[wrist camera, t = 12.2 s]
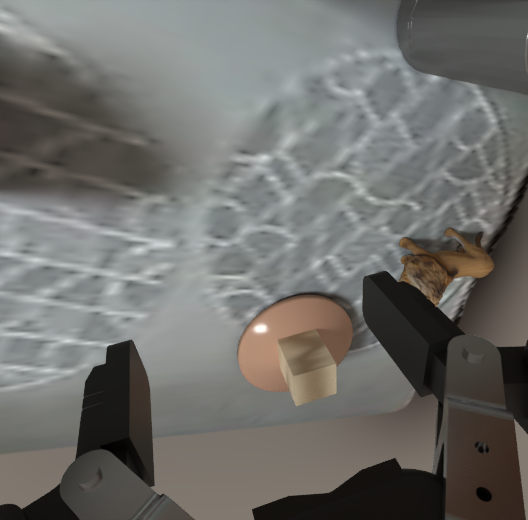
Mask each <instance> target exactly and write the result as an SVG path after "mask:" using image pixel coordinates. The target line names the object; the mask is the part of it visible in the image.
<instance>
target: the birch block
mask: <svg viewBox="0 0 528 520" xmlns="http://www.w3.org/2000/svg"><path fill="white" fill-rule="evenodd" d="M277 345H278V354H279V362H280V369H281V371H282V374H283V376H284V378H285V381H286V383H287V385H288V388H289V390H290V393H291V395H292V397H293V400H294V402H295V404H296V406H298V405H301V404H304V403H307V402H310V401H314V400H317V399H320V398H323V397H326V396H329V395H333V394H336V363H335V361H334V359H333V357H332V356H331V354H330V352H329V351H328V349H327V347H326V345H325V344H324V342H323V340H322V339H321V337H320V335H319V334H318V332H317V330H316V329H313V330H309V331H306V332H302V333H299V334H295V335H292V336H288V337H285V338H281V339H278V340H277Z"/></svg>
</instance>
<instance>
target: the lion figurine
mask: <svg viewBox="0 0 528 520" xmlns="http://www.w3.org/2000/svg"><path fill="white" fill-rule="evenodd" d="M482 235H483V232H481V233H478V234H477V235H476V238H475V241H476V246H475V245H472V244H471V243H470V242H468V241H467V240H466V239H465V238H464V237H463V236H461V235H459V234H458V233H457V232H455V231H454V230H453V229H451V228H448V229H446V230H445V233H444V236H446V237H451V238H454V239H456V240H457V241H459V242H460V243H461V244H462V246H460V247H459V248H458V249H457V252H455V251H450V250H448V251H439V252H435V253H433V254H432V253H430V252H428V251H426V250H424V249H423V248H421V247H419V246H418V245H416V244H415V243H413V242H412V241H411V240H409V239H408V238H402V239H401V240H400V242H399V245H400V247H404V248H406V249H409V250H411V252H412V253H413V254H414V255H415V257H413V256H412V255H405V256H403V257H402V258H401V262H402V264H404V270H403V273H402V274H401V278H400V279H399V282H401V281H405V282H407V283H409V284H411V285H413V286H415V287H417V288H418V289H419V290H420V291H421V292H422V293H423V294H424V295H425V296H426V297H427V299H430V300H431V301H432V302H433V303H434V304H435V307H436V306H437V305H438V304H439V301H440V299H441V298H442V297H443V295H442V294H443V293H444V292H445V289H446V287H447V286H448V285H449V283H451V282H452V281H453V279H454V278H458V277H462V276H472V277H476V278H481V277H484V276H486V275H487V274H488V273H489V272H490V271H492V270H493V268H494V263H493V261H492V259H491V258H490V256H489V255H488V254H487V253H486V252H485V251H484V250H483V248H482V247H481V243H480V240H481V238H482Z"/></svg>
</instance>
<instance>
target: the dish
mask: <svg viewBox="0 0 528 520" xmlns="http://www.w3.org/2000/svg"><path fill="white" fill-rule="evenodd" d="M313 329H316V330H317V332H318V334H319V335H320V337H321V339H322V340H323V342H324V344H325V345H326V347H327V349H328V351H329V352H330V354H331V356H332V357H333V359H334V361H335V363H336V367H337V366H338V365H339V364H340V362H341V361H342V360H343V358H344V357H345V356H346V354H347V352H348V350H349V348H350V345H351V342H352V337H353V327H352V322H351V320H350V318H349V316H348V315H347V313H346V312H345V310H344V309H343V308H342V307H341V306H340V305H339V304H338V303H337V302H335V301H334V300H332V299H329V298H327V297H323V296H318V295H299V296H294V297H290V298H287V299H284V300H281V301H279V302H277V303H275V304H273V305H271V306H269V307H268V308H266V309H265V310H263V311H262V312H261V313H260V314H258V315H257V316H256V317H255V318H254V319H253V320H252V321H251V322H250V323H249V325H248V326H247V327H246V329H245V330H244V332H243V334H242V336H241V338H240V341H239V344H238V350H237V357H238V362H239V366H240V369H241V371H242V373H243V375H244V377H245V378H246V379H247V380H248V381H249V382H250V383H251V384H253V385H254V386H256V387H258V388H260V389H263V390H267V391H274V392H284V391H290V390H289V388H288V385H287V383H286V381H285V378H284V376H283V374H282V371H281V369H280V362H279V354H278V345H277V340H278V339H281V338H285V337H288V336H292V335H295V334H299V333H302V332H306V331H309V330H313Z"/></svg>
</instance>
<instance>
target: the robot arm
mask: <svg viewBox="0 0 528 520" xmlns="http://www.w3.org/2000/svg"><path fill="white" fill-rule="evenodd" d="M397 36H398V42H399V47H400V49H401V52H402V54H403V57H404V58H405V59H406V61H407V62H408V63H409V65H411V66H412V67H413V68H414V69H416V70H418V71H420V72H423V73H427V74H431V75H436V76H441V77H446V78H450V79H454V80H459V81H464V82H468V83H473V84H478V85H483V86H488V87H492V88H497V89H502V90H507V91H511V92H516V93H521V94H526V95H528V0H402V3H401V6H400V10H399V15H398V22H397ZM362 310H363V316H364V319H365V322H366V324H367V326H368V327H369V328H370V330H371V331H372V333H373V334H374V335H375V337H376V338H377V339H378V341H379V342H380V343H381V345H382V346H383V347H384V349H385V350H386V351H387V353H388V354H389V355H390V357H391V358H392V359H393V361H394V362H395V363H396V365H397V366H398V367H399V369H400V370H401V371H402V373H403V374H404V375H405V377H406V378H407V379H408V381H409V382H410V383H411V385H412V386H413V387H414V389H415V390H416V391H417V393H418V394H419V395H420V397H424V396H426V395H430V394H434V395H435V396H436V398H437V399H438V402H437V411H436V431H435V448H434V461H433V469H432V473H430V472H426V471H422V470H416V469H401V467H400V465H399V464H398V462H397V460H396V459H395V458H393V459H391V460H388V461H385V462H382V463H380V464H377V465H374V466H372V467H368V468H366V469H363V470H361V471H359V472H358V473H357V474H355V475H354V476H353V477H351V478H350V479H349V480H347V481H346V482H344V483H343V484H342V485H340V486H339V487H338V488H336V489H335V490H333V491H332V492H330V493H324V494H311V495H298V496H288V497H285V498H282V499H279V500H277V501H274V502H271V503H268V504H265V505H263V506H260V507H257V508H254V509H252V511H253V515H254V520H526V517H525V509H524V500H523V492H522V483H521V475H520V466H519V458H518V450H517V441H516V433H515V423H514V419H515V420H516V421H517V422H518V423H519V425H520V426H521V427H522V428H523V429H524V430H525V431H526V433H527V434H528V340H527V343H526V346H524V347H523V346H522V347H495V345H493V344H492V343H491V342H489V341H487V340H486V339H484V338H481V337H478V336H474V335H466V334H465V333H464V332H462V331H461V330H460V329H459V328H458V327H457V326H456V325H455V324H454V323H453V322H452V321H451V320H450V319H449V318H448V317H447V316H446V315H445V314H444V313H443V312H442V311H441V310H440V309H439V308H438V307H435V304H434V303H433V302H432V301H431V300H430V299H427V297H426V296H425V295H424V294H423V293H422V292H421V291H420V290H419V289H418V288H417V287H415V286H413V285H411V284H409V283H407V282H405V281H401V282H397V281H396V280H395V279H394V278H393V277H392V276H391V275H390V274H389V273H388V272H387V271H382V272H379V273H375V274H371V275H368V276H365V277H364V279H363V306H362ZM82 409H83V411H82V413H81V421H80V429H79V437H78V445H77V454H76V459H75V461H74V462H73V463H72V464H71V465H70V466H69V467H68V468H67V470H66V471H65V473H64V475H63V477H62V479H61V483H60V484H59V485H58V486H57V487H55V488H54V489H53V490H51V491H50V492H49V493H47V494H45V495H44V496H42V497H41V498H39V499H38V500H36V501H34V502H33V503H31V504H30V505H28V506H26V507H25V508H23V509H21V508H20V507H18V506H17V505H14V504H4V505H0V520H195V519H194V518H192V517H191V516H190V515H189V514H188V513H187V512H185V511H184V510H183V509H182V508H181V507H180V506H179V505H178V504H176V503H175V502H174V501H173V500H172V499H170V498H169V497H168V496H166V495H165V494H162V495H159V494H157V493H156V492H155V491H154V490H153V489H151V488H150V487H152V486H154V463H153V443H152V422H151V402H150V387H149V381H148V377H147V374H146V371H145V368H144V366H143V363H142V361H141V359H140V356H139V354H138V351H137V349H136V347H135V344H134V342H133V341H132V340H128V341H124V342H121V343H117V344H114V345H110V346H108V347H107V353H106V364H103V365H99V366H96V367H94V368H93V369H92V371H91V373H90V375H89V376H88V378H87V380H86V381H85V389H84V399H83V405H82Z"/></svg>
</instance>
